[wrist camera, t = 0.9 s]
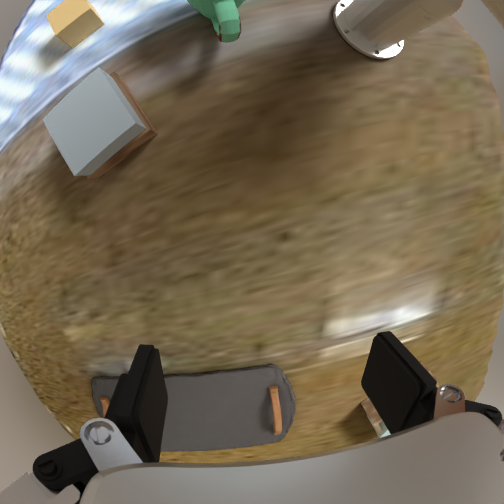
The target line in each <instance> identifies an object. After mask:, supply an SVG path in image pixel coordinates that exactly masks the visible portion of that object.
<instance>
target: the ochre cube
mask: <svg viewBox="0 0 504 504" xmlns="http://www.w3.org/2000/svg"><path fill="white" fill-rule="evenodd" d="M46 16H47V18H48V20H49V22H50V25H51V27H52V29H53V31H54V33H55V35H56V36H57V37H59V38H60V39H61V40H63V41H64V42H65V43H67V44H68V45H69V46H71V47H72V48H74V47H75V46H76V45H77V44H79V43H80V42H81V41H82V40H84V39H85V38H86V37H88V36H89V35H90V34H92V33H93V32H94V31H96V30H97V29H99V28H100V27H101V26H103V25H104V23H103V21H102V20H101V18H100V17H99V15H98V13H97V12H96V10H95V9H94V7H93V6H92V5H91V3H90V2H89V1H88V0H65V1H63V2H62V3H61V4H59V5H58V6H57V7H56V8H55V9H53V10H52V11H51V12H50V13H48V14H47V15H46Z"/></svg>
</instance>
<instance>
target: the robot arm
mask: <svg viewBox="0 0 504 504" xmlns="http://www.w3.org/2000/svg"><path fill="white" fill-rule="evenodd" d="M481 1H482V2H483V3H484V4H485V6H486V7H487V8H488V9H489V10H490V12H491V13H492V14H493V15H494V17H495V18H496V19H497V20H498V22H499V23H500V24H501V25H502V27H503V28H504V0H481ZM462 3H463V0H340V1H339V2H338V3H337V5H336V6H335V8H334V12H333V19H334V22H335V25H336V27H337V30H338V31H339V33H340V34H341V36H342V37H343V38H344V39H345V40H346V41H347V43H349V44H350V45H351V46H352V47H353V48H355V49H356V50H358V51H359V52H361V53H363V54H364V55H366V56H369V57H372V58H376V59H389V58H392V57H394V56H396V55H397V54H399V53H400V51H401V50H402V48H403V45H404V39H406V38H408V37H410V36H412V35H413V34H415V33H417V32H419V31H421V30H423V29H425V28H427V27H428V26H430V25H432V24H434V23H436V22H438V21H440V20H442V19H444V18H446V17H448V16H451V15H452V14H454V13H455V12H457V11H458V10H459V9H460V7H461V6H462ZM436 384H437V381H436V380H435V379H434V378H433V377H432V375H431V374H430V373H429V372H428V371H427V370H426V369H425V368H424V367H423V366H422V364H421V363H420V362H419V361H418V360H417V359H416V358H415V357H414V356H413V355H412V354H411V353H410V352H409V350H408V349H407V348H406V347H405V346H404V345H403V344H402V343H401V342H400V341H399V340H398V339H397V338H396V337H395V336H394V335H393V333H392V332H390V331H387V332H380V333H378V334H377V335H376V336H375V337H374V339H373V342H372V346H371V350H370V353H369V357H368V360H367V364H366V367H365V371H364V374H363V377H362V381H361V385H362V388H363V389H364V391H365V393H366V394H367V396H368V398H369V399H370V401H371V402H372V404H373V406H374V407H375V409H376V411H377V412H378V414H379V416H380V417H381V419H382V421H383V422H384V424H385V426H386V427H387V429H388V431H389V432H390V434H391V435H388V436H384V437H381V438H378V439H374V440H371V441H367V442H364V443H360V444H356V445H352V446H348V447H344V448H340V449H335V450H330V451H325V452H320V453H315V454H309V455H303V456H297V457H290V458H282V459H274V460H264V461H253V462H236V463H162V462H159V458H160V451H161V444H162V437H163V430H164V423H165V417H166V411H167V405H168V393H167V389H166V384H165V380H164V375H163V370H162V365H161V360H160V354H159V350H158V349H154V346H153V345H142V344H140V345H139V347H138V349H137V352H136V354H135V357H134V360H133V362H132V365H131V367H130V370H129V373H128V374H121V376H120V378H119V380H118V383H117V385H116V388H115V390H114V393H113V395H112V398H111V401H110V403H109V406H108V409H107V412H106V414H105V417H104V418H95V419H91V420H89V421H87V422H86V423H85V424H84V425H83V426H82V428H81V430H80V436H81V438H80V439H78V440H75V441H73V442H71V443H69V444H66V445H64V446H62V447H59V448H57V449H54V450H52V451H50V452H47V453H45V454H42V455H41V456H39V457H38V458H37V459H36V460H35V462H34V464H33V472H32V473H31V474H29V475H28V473H25V474H24V475H23V476H21V477H20V478H19V479H18V480H16V481H15V482H14V483H13V484H11V485H10V486H9V487H7V488H6V489H5V490H4V491H2V492H1V493H0V504H504V419H502V414H501V413H500V411H499V410H498V409H497V408H496V407H493V406H490V405H486V404H481V403H477V402H473V401H468V400H465V395H464V392H463V391H462V389H460V388H459V387H458V386H456V385H453V384H443V385H441V386H440V387H439V388H437V386H436Z"/></svg>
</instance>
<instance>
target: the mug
mask: <svg viewBox="0 0 504 504" xmlns="http://www.w3.org/2000/svg"><path fill="white" fill-rule="evenodd" d="M187 1H188V2H189V3H190V4H191V5H192V6H193V7H194V8H195V9H196V10H197V11H198V12H199V13H201V14H202V15H203V16H205V17H207V18H209V19H211V20H212V24H213V27H214V30H215V33H216V35H217V37H218V39H219V40H220V41H221V42H226V43H227V42H233V41H235V40H237V39H238V38H239V36H240V33H241V22H240V17H239V14H238V10H237V8H238V7H239V6H240V5H241V4H242V3H243V2H244V1H245V0H187Z"/></svg>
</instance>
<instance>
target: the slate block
mask: <svg viewBox="0 0 504 504" xmlns="http://www.w3.org/2000/svg"><path fill="white" fill-rule="evenodd" d="M43 121H44V123H45V125H46V127H47V129H48V131H49V133H50V135H51V137H52V138H53V140H54V142H55V144H56V146H57V147H58V149H59V151H60V153H61V154H62V156H63V158H64V160H65V161H66V163H67V165H68V166H69V168H70V170H71V171H72V173H73V175H74V176H84V175H91V174H92V173H94V172H95V171H96V170H97V169H98V168H99V167H100V166H101V165H102V164H104V163H105V162H106V161H107V160H108V159H109V158H110V157H112V156H113V155H114V154H115V153H116V152H118V151H119V150H120V149H121V148H122V147H124V146H125V145H126V144H127V143H129V142H130V141H131V140H132V139H134V138H135V137H136V136H137V135H139V134H140V133H141V132H143V131H144V130H145V129H146V127H145V126H144V124H143V123H142V121H141V120H140V118H139V117H138V115H137V114H136V112H135V111H134V109H133V108H132V106H131V105H130V103H129V102H128V101H127V99H126V98H125V96H124V95H123V93H122V91H121V90H120V88H119V87H118V85H117V84H116V82H115V81H114V79H113V78H112V77H111V76H110V75H108V74H107V73H106V72H105V71H103V70H102V69H101V68H100V67H98V68H97V69H96V70H95V71H94V72H92V73H91V74H90V75H89V76H88V77H86V78H85V79H84V80H83V81H82V82H81V83H79V84H78V85H77V86H76V87H75V88H74V89H73V90H72V91H71V92H70V93H69V94H67V95H66V96H65V97H64V98H63V99H62V100H61V101H60V102H59V103H58V104H57V105H56V106H55V107H54V108H53V109H52V110H51V111H50V112H49V113H48V114H47V115H46V116H45V118H44V119H43Z"/></svg>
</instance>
